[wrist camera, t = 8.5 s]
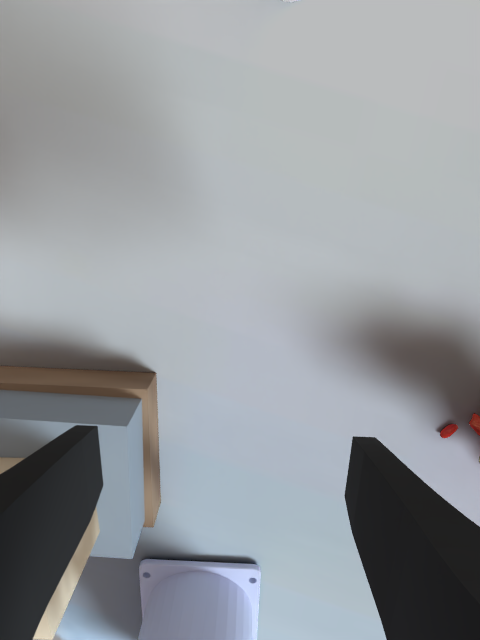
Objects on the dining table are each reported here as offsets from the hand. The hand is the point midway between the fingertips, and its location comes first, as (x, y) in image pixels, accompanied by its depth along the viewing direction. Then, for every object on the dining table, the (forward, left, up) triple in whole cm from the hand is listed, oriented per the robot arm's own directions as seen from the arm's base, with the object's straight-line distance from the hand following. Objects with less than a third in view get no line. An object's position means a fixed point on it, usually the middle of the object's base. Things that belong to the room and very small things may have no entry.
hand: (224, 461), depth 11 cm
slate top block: (-7, +9, -8) cm, 14 cm away
